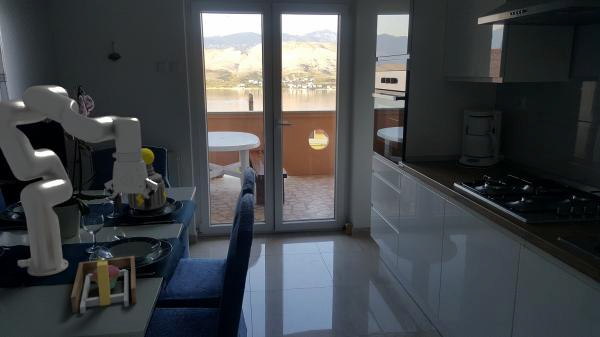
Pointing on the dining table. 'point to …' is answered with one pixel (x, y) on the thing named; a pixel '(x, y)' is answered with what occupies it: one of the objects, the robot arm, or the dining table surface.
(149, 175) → the decorative lamp
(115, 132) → the robot arm
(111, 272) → the cupcake
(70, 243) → the dining table surface
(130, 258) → the bay
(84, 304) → the frame
